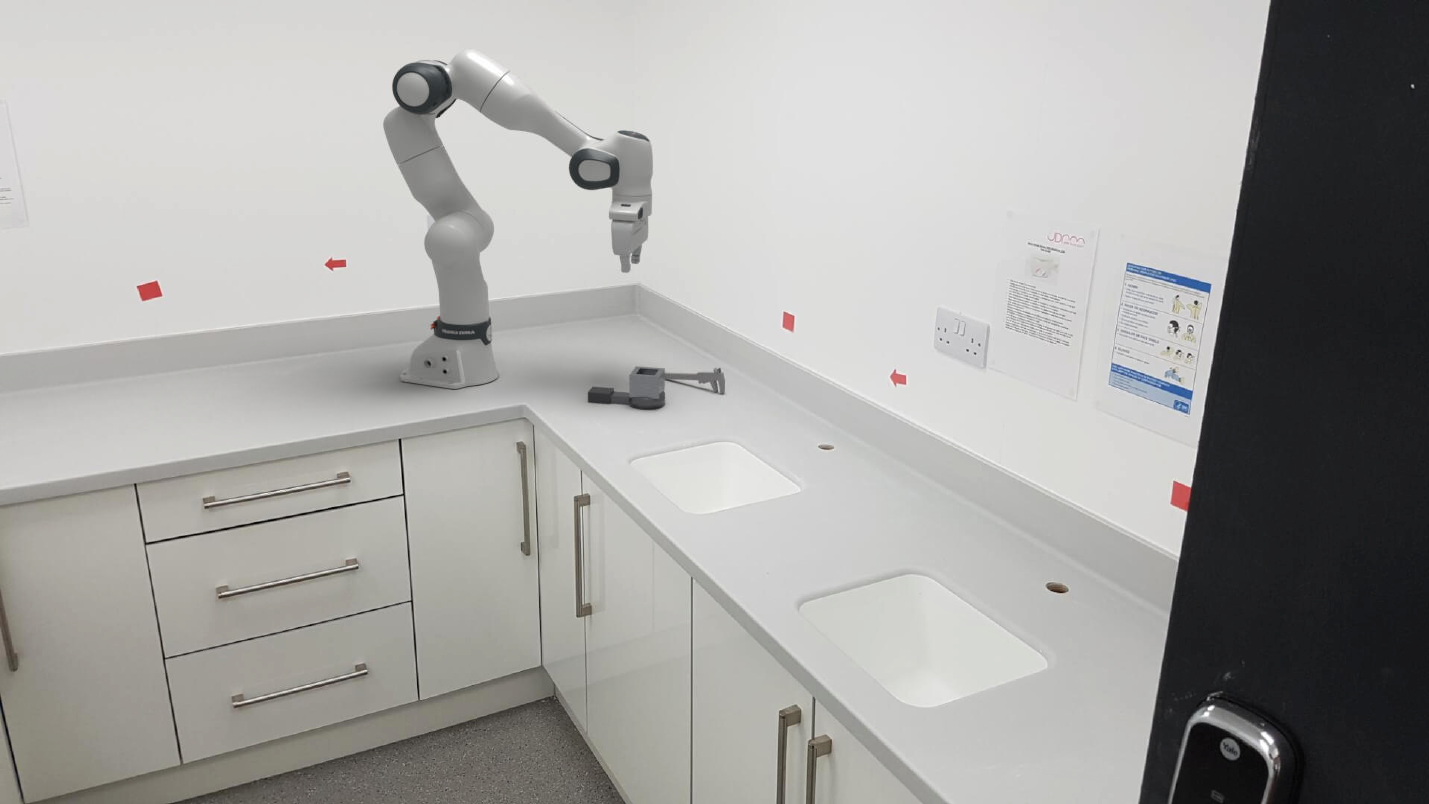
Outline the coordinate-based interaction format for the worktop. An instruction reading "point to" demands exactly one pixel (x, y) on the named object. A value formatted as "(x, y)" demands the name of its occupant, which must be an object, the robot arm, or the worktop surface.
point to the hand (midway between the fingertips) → (630, 267)
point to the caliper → (702, 378)
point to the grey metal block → (647, 382)
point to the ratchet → (623, 398)
